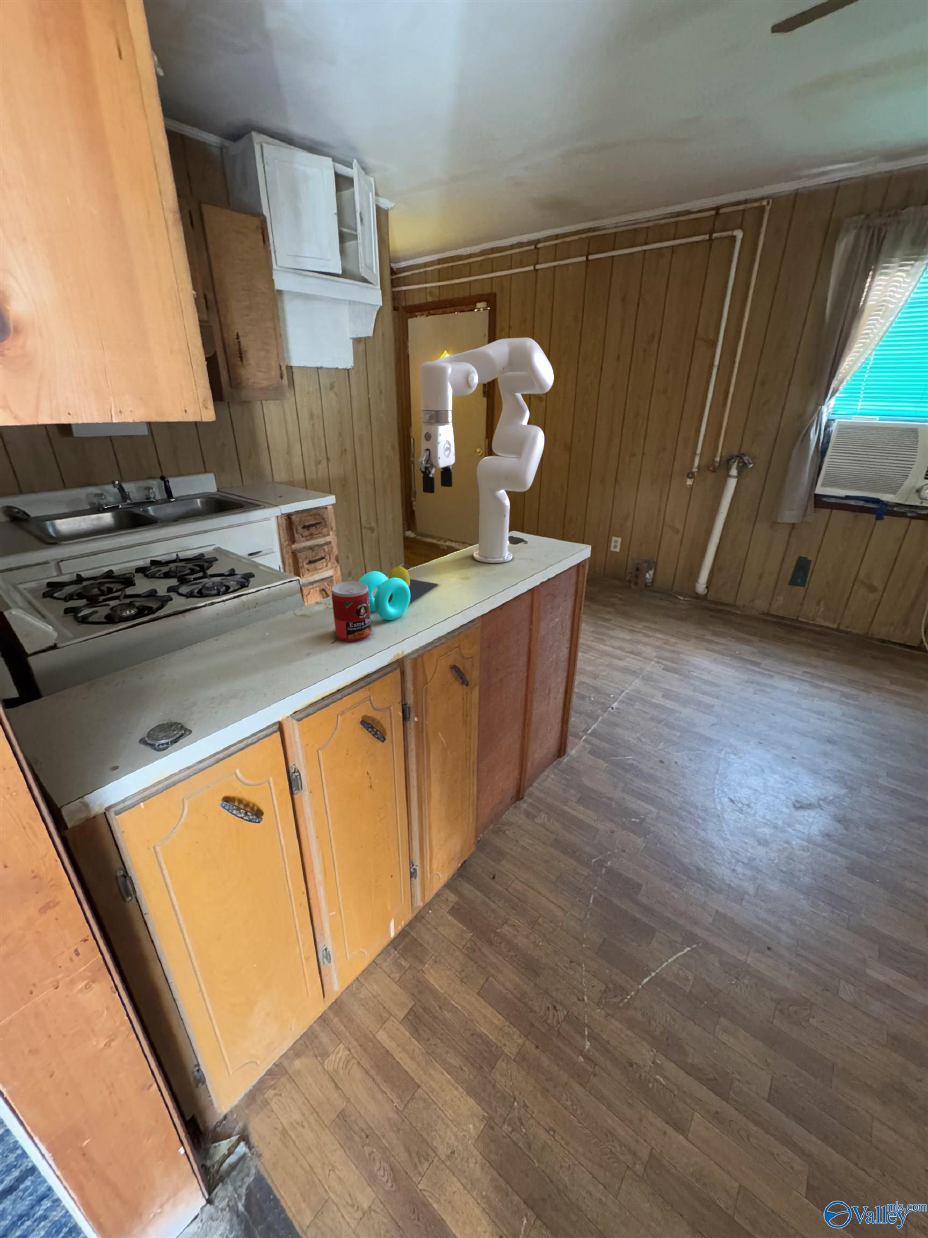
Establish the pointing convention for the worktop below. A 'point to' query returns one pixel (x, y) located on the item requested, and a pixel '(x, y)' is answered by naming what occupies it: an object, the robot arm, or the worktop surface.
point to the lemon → (400, 574)
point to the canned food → (351, 610)
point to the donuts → (386, 595)
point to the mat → (417, 589)
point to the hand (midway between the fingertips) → (438, 489)
